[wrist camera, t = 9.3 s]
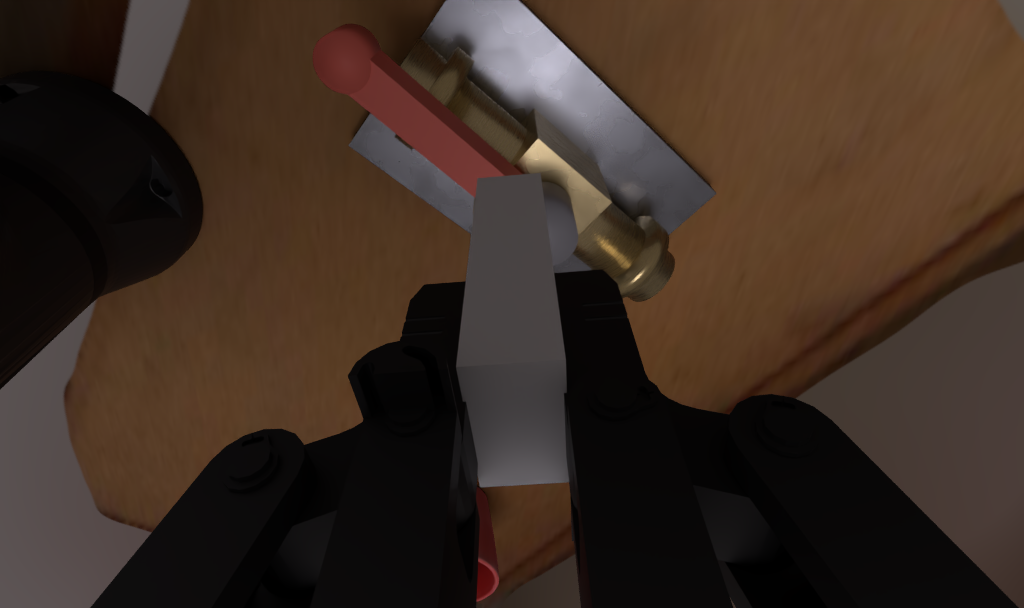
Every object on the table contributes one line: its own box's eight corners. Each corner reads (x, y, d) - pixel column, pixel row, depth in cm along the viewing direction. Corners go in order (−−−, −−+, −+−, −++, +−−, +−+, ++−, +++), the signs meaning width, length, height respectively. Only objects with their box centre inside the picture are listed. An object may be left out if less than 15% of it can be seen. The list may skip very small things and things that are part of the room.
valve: (353, 138, 37) (322, 180, 31) (476, -44, 31) (467, -37, 25) (577, 302, 45) (588, 360, 39) (710, 185, 39) (746, 233, 33)
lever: (542, 246, 33) (545, 277, 30) (316, 61, 27) (292, 78, 24) (584, 208, 32) (591, 236, 29) (354, 1, 25) (333, 11, 22)
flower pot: (393, 481, 60) (375, 564, 52) (484, 463, 58) (479, 547, 50) (428, 530, 66) (417, 612, 58) (511, 515, 64) (512, 598, 56)
